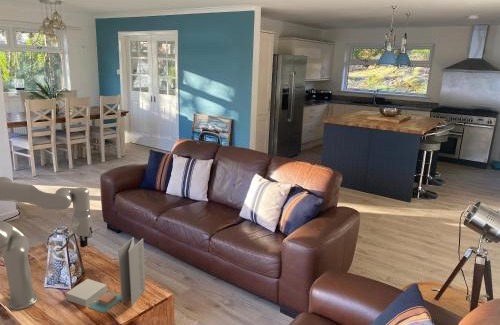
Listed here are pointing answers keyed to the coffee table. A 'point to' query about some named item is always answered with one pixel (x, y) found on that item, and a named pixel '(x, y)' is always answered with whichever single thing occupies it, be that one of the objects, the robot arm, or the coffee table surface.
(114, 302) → the mat
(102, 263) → the coffee table surface
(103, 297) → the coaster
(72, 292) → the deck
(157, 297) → the coffee table surface
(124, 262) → the brochure
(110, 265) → the coffee table surface
